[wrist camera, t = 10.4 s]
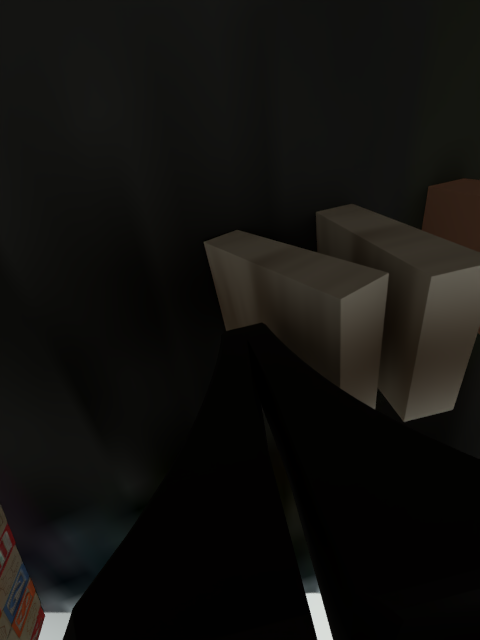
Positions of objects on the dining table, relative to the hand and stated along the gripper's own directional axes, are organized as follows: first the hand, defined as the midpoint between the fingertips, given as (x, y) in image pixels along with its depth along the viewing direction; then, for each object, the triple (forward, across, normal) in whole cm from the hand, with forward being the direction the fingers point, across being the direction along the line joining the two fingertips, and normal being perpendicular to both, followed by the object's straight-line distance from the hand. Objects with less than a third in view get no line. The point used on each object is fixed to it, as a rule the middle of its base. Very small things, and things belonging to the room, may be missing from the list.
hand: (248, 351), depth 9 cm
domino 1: (+5, 0, 0) cm, 5 cm away
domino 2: (+5, -5, 0) cm, 7 cm away
